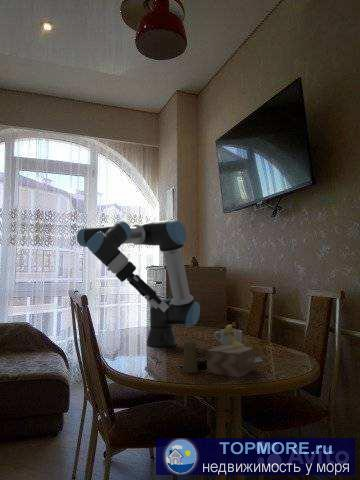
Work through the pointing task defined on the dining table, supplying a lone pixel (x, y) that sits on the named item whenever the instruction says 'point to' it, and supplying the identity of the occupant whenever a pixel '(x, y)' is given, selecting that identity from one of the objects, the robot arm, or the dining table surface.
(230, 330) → the stuffed giraffe
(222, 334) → the teacup
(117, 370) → the dining table surface
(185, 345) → the cork
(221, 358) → the walnut block
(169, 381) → the dining table surface
